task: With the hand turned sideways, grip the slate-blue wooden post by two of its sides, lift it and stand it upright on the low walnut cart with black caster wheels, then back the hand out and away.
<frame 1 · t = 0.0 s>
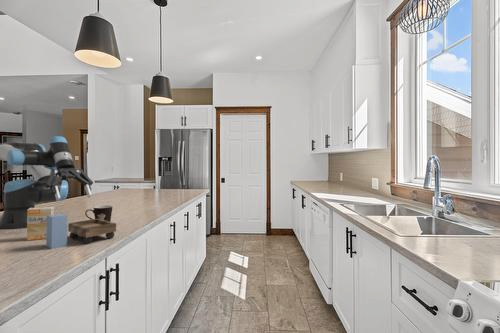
hand: (74, 197, 125), 15 cm above the worktop, tool tilted 35°, fingers open, 13 cm apart
coffee mug: (100, 226, 132), on the worktop
supplement box: (40, 238, 109), on the worktop
slate post: (56, 246, 100), on the worktop
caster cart: (92, 238, 110), on the worktop
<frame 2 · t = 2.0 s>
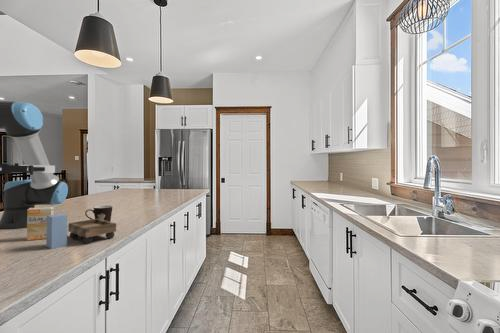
hand: (47, 168, 98), 30 cm above the worktop, tool horizontal, fingers open, 13 cm apart
nothing on the worktop moved.
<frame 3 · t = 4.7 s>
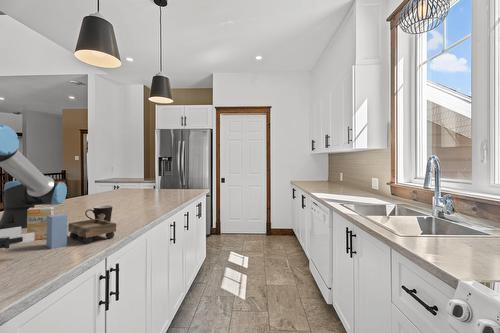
hand: (27, 233, 92), 7 cm above the worktop, tool horizontal, fingers open, 13 cm apart
nothing on the worktop moved.
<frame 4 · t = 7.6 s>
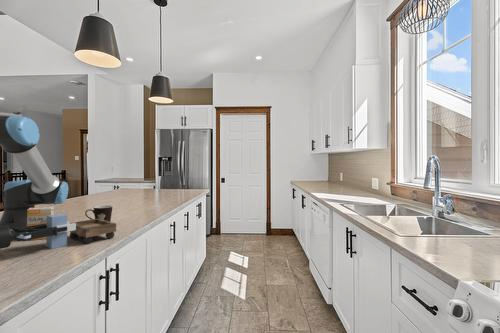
hand: (72, 225, 104), 7 cm above the worktop, tool horizontal, fingers closed on slate post, 5 cm apart
slate post: (56, 245, 100), on the worktop, touching gripper
everything else where it was.
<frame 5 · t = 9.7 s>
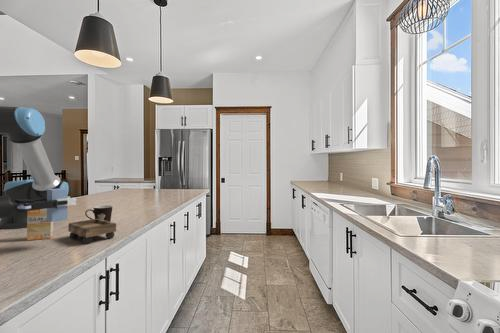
hand: (72, 200, 104), 17 cm above the worktop, tool horizontal, fingers closed on slate post, 5 cm apart
slate post: (57, 219, 100), point 10 cm above the worktop, touching gripper
everything else where it was.
when the fingers open (13 cm above the worktop, at t = 12.1 s): slate post drops 1 cm, resting on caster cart.
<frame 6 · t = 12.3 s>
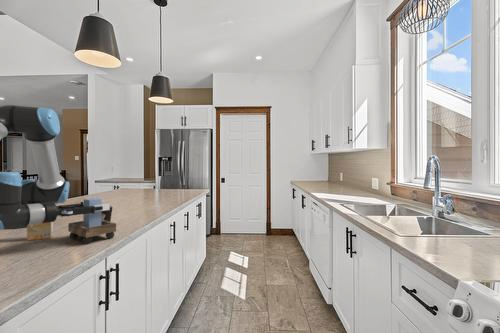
hand: (104, 205, 114), 13 cm above the worktop, tool horizontal, fingers open, 7 cm apart
slate post: (92, 226, 110), point 5 cm above the worktop, touching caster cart
everything else where it was.
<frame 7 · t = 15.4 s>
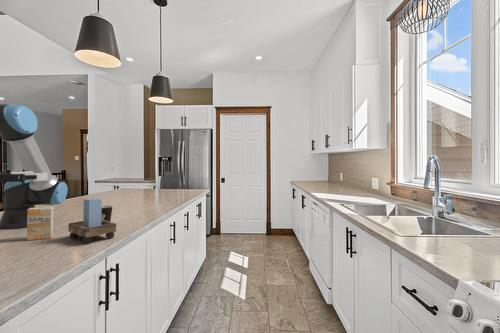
hand: (39, 175, 96), 28 cm above the worktop, tool horizontal, fingers open, 13 cm apart
nothing on the worktop moved.
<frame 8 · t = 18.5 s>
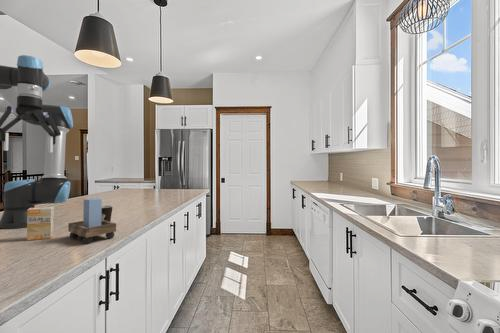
hand: (29, 151, 100), 37 cm above the worktop, tool pointing down, fingers open, 13 cm apart
nothing on the worktop moved.
at the end: slate post inside the target area on the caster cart (0.0 cm from its centre), point 5.0 cm above the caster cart's base; slate post tilted 0°; the gripper is holding nothing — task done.
